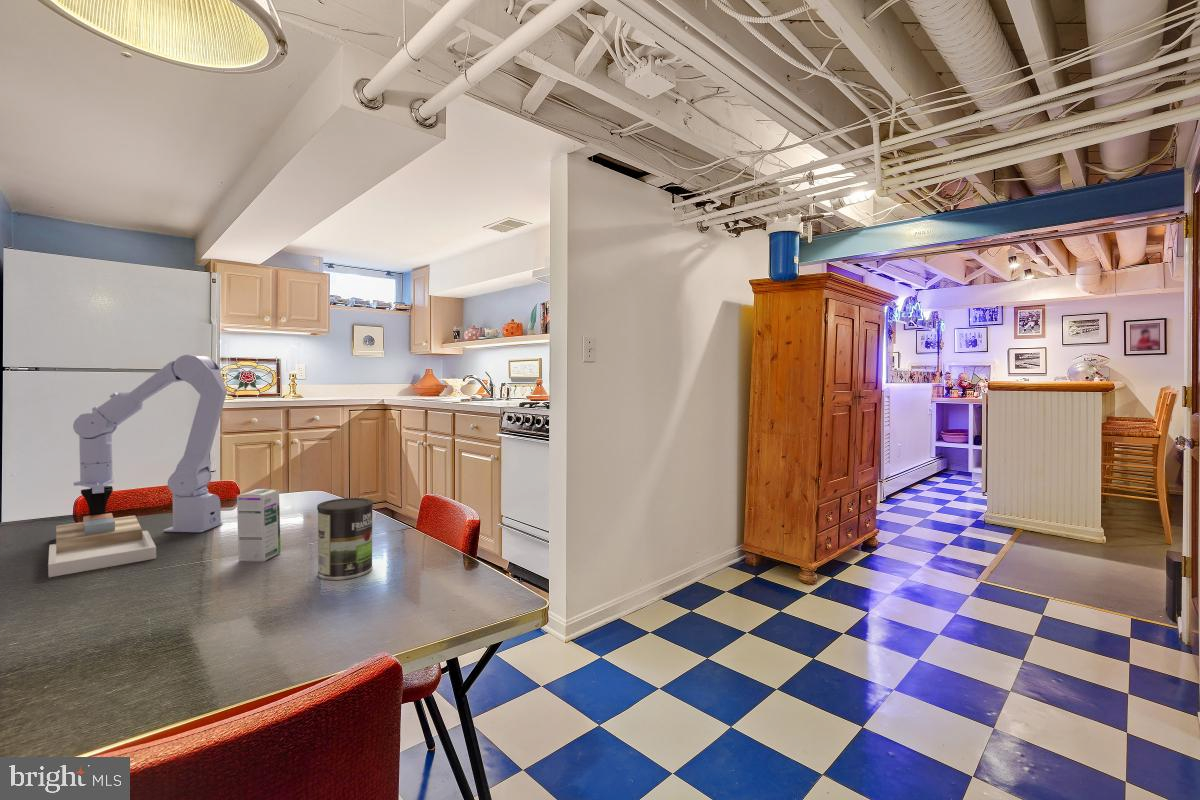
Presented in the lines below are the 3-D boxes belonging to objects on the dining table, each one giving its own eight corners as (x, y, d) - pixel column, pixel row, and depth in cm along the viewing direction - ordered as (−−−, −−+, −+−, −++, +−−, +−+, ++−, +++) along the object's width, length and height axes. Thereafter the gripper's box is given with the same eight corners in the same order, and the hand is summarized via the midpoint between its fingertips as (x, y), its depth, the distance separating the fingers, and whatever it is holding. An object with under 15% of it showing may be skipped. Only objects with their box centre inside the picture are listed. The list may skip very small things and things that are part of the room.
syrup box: (264, 562, 113) (263, 494, 112) (237, 561, 113) (236, 493, 112) (281, 553, 119) (280, 488, 118) (254, 552, 119) (254, 488, 118)
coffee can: (383, 564, 113) (383, 499, 112) (351, 583, 103) (351, 511, 102) (340, 560, 115) (340, 495, 114) (305, 577, 105) (304, 507, 104)
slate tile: (84, 529, 122) (83, 521, 122) (113, 525, 126) (113, 517, 126) (84, 534, 119) (84, 525, 119) (115, 530, 123) (114, 521, 122)
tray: (49, 556, 113) (49, 544, 113) (147, 540, 125) (147, 530, 125) (48, 577, 102) (48, 564, 102) (156, 558, 114) (156, 546, 114)
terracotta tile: (83, 524, 126) (83, 516, 126) (111, 521, 130) (111, 512, 130) (84, 529, 123) (83, 520, 123) (113, 525, 126) (113, 517, 126)
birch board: (56, 538, 125) (56, 525, 125) (135, 527, 135) (135, 515, 135) (56, 555, 114) (56, 541, 114) (142, 541, 124) (141, 529, 124)
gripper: (72, 460, 131) (74, 514, 132) (73, 468, 121) (74, 527, 121) (111, 457, 136) (112, 509, 137) (115, 465, 126) (116, 521, 126)
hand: (97, 517), depth 129 cm, fingers closed
